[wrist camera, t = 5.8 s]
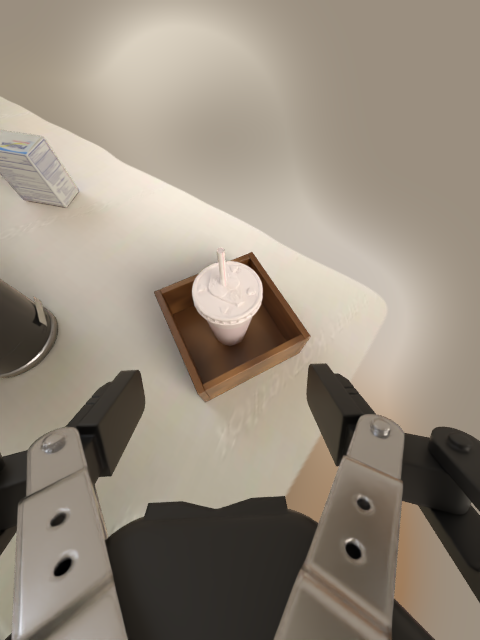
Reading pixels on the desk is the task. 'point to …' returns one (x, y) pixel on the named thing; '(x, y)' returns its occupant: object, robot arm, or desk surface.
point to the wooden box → (237, 360)
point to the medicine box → (34, 169)
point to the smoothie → (227, 298)
